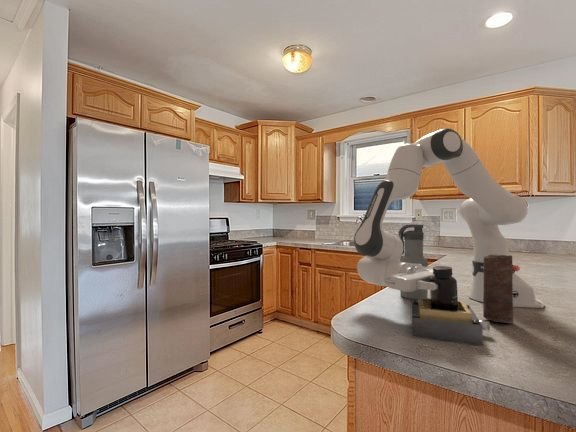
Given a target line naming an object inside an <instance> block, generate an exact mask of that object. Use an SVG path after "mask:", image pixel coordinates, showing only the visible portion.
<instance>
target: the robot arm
mask: <svg viewBox="0 0 576 432" xmlns="http://www.w3.org/2000/svg"><path fill="white" fill-rule="evenodd" d="M439 164H442V165H443V167H445V170H446V172H447V173H448V174H449V177H450V179H451V180H452V181H453V184H455V186H456V188H457V189H458V191H459V192H460V193H462V194H463V195H465V196H466V197H468V199H465V200H464V201H463V202H462V203H461V204H460V206H459V207H460V208H459V213H460V216H461V218H462V219H463V220H464V221H465V222H466V224H467V225H468V227H469V230H470V234H471V236H472V237H471V238H472V245H473V259H472V262H471V274H472V280H471V286H470V289H469V293H468V298H470V299H472V300H474V301H478V302H480V303H483V291H484V257H485V256H488V255H507V256H509V254H510V253H509V252H510V248H509V247H510V245H509V241H508V239H507V238H506V237H505V236H504V235H503V234H502V233H501V231H500V228H499V226H509V225H514V224H518V223H521V222H522V221H524V219H525V218H526V217H527V214H528V205H527V202H526V201H525V199H524V198H522V197H521V196H519V195H517V194H513V193H512V192H510V191H509V190H508V189H506V188H505V187H504V186H502V185H501V184H500V183H499V182H498V181H497V180H495V178H493V176H492V175H491V174H490V173H489V171H488V169H487V168H486V166H485V165H484V163H483V161H482V160H481V158H480V157H479V155H478V154H477V152H476V151H475V150H474V148H473V147H472V146H471V145H470V144H469V143H468V142H467V141H466V140H465V139H464V138H462V137H461V135H460V133H458V132H457V131H456V130H455V129H452V128H441V129H438V130H436V131H434V132H431V133H428V134H425V135H423V136H422V137H420V138H419V139H418V140H416V141H413V142H412V143H405V144H404V143H403V144H401V145H400V146H398V147H397V148H396V150H395V151H394V153H393V156H392V158H391V161H390V163H389V166H388V168H387V174H386V177H385V178H384V180H383V181H381V182H380V183H379V184H378V185H377V186H376V189H375V190H374V193H373V194H372V198H371V200H370V201H369V205H368V206H367V210H366V212H365V214H364V216H363V219H362V222H361V223H360V225H359V226H358V228H357V230H356V231H355V233H354V235H353V236H354V237H353V244H354V249H355V250H356V251H357V252H358V254H360V255H363V256H364V257H362V258H360V259H359V261H358V262H357V266H356V269H357V273H358V275H359V277H360V279H362V280H363V281H365V282H366V283H369V284H372V285H375V286H380V287H383V286H384V287H387V288H389V289H392V290H397V291H404V292H413V291H417V290H421V289H426V290H429V291H430V290H433V291H434V290H437V289H438V284H437V283H433V282H430V278H431V277H432V276H434V274H433V267H429V266H428V267H424V266H422V265H421V264H411V263H406V262H400V260H401V258H402V257H403V250H404V251H405V244H404V245H403V242H402V240H401V239H400V237H399V235H396V234H393V233H391V232H389V231H386V230H384V229H383V227H382V224H383V221H384V218H385V216H386V213H387V211H388V208H389V207H390V204H391V203H392V202H393V201H395V200H397V201H398V200H401V201H402V200H406V199H409V198H411V197H412V196H414V195H415V193H416V192H417V191H418V188H419V185H420V182H421V181H420V180H421V177H422V172H423V169H425V168H429V167H434V166H437V165H439ZM520 269H521V267H519V266H518V265H517V264H513V263H512V275H513V276H512V283H513V285H512V287H513V308H514V307H515V308H533V309H534V308H535V309H536V308H537V309H539V308H540V309H543V308H544V307H545V305H544V302H543V301H542V300H540V299H539V298H537V297H536V293H535V290H534V287H533V286H532V284H530V283H529V282H527V281H526V280H525V279H523V278H522V277H520V276H519V275H518V274H516V272H519V271H520Z"/></svg>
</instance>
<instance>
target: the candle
mask: <svg viewBox="0 0 576 432" xmlns="http://www.w3.org/2000/svg"><path fill="white" fill-rule="evenodd" d="M512 264H513V255H509V256H507V255H488V256H485V257H484V291H483V302H482V303H483V306H482V310H483V311H482V312H483V313H482V316H483V318H484V319H486V320H488V321H492V322H495V323H506V324H513V323H514V318H513V317H514V307H513V287H512V285H513V283H512V276H513V275H512Z"/></svg>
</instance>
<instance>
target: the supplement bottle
mask: <svg viewBox="0 0 576 432" xmlns="http://www.w3.org/2000/svg"><path fill="white" fill-rule="evenodd" d="M432 268H433V274H434V276H432V277H431V278H430V282H433V283H437V284H438V289H437V290H434V291H433V290H429V292H430V293H429V294H430V295H429V298H431V308H432V309H440V310H450V311H458V301H459V299H458V281H457V279H456V277H454V276H453V268H452V267H451V266H446V265H436V266H433V267H432Z"/></svg>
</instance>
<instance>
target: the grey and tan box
mask: <svg viewBox="0 0 576 432" xmlns="http://www.w3.org/2000/svg"><path fill="white" fill-rule="evenodd" d="M410 302H411V303H410V309H411V310H410V312H411V313H410V318H411V319H410V320H411V325H410V326H411V337H414V338H420V339H430V340H437V341H444V342H451V343H458V344H459V343H460V344H466V345H473V346H481V347H482V346H483V331H490V330H491V325H490V320H481V319H479V318H478V317H477V315H476V314H475V312H474V311H473V310H474V309H472V307H471V306H470V305H468V304H466V303H465V301H464V300H458V311H450V310H440V309H432V308H431V297H427V298H422V297H418V300H414V299H412V301H410Z"/></svg>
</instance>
